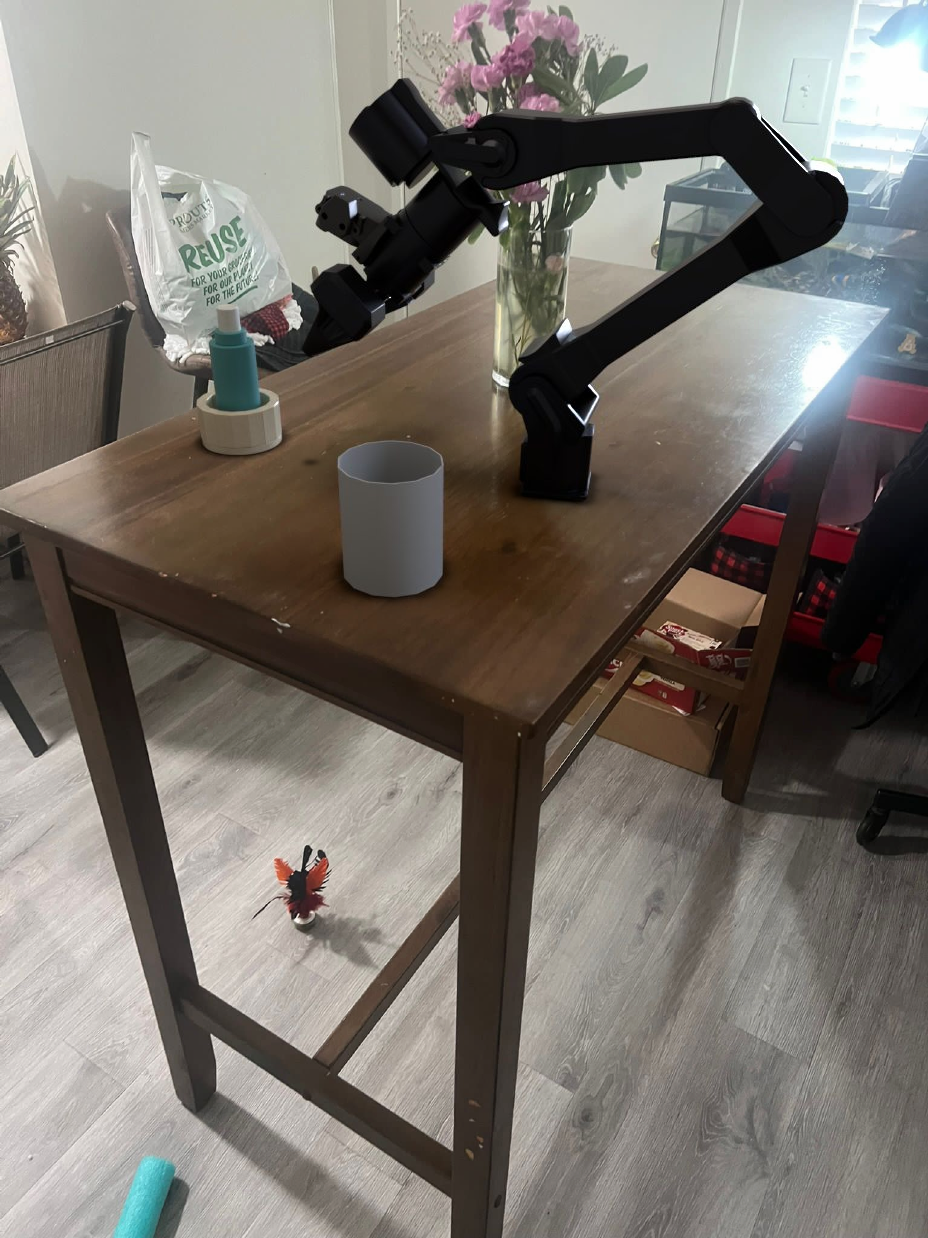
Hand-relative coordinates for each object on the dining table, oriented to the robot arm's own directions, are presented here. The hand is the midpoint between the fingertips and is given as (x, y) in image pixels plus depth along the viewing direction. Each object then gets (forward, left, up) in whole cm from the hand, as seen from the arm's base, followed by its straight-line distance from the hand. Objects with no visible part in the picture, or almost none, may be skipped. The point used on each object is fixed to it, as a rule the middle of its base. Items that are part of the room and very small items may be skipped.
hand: (324, 339), depth 91 cm
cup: (-12, +23, -12) cm, 29 cm away
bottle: (+10, -1, -11) cm, 16 cm away
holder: (+11, -1, -12) cm, 16 cm away
